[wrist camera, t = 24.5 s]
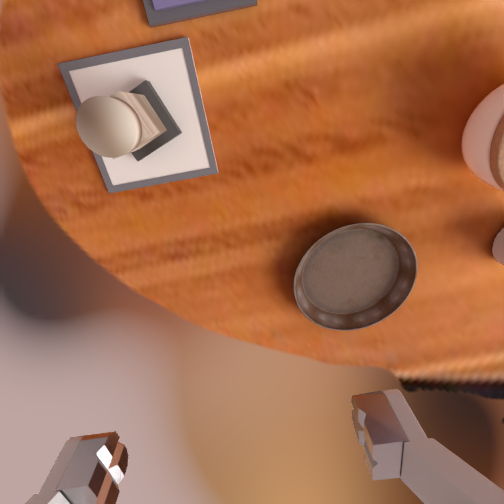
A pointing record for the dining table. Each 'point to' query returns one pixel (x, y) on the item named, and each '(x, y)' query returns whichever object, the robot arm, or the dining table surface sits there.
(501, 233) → the can
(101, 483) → the robot arm
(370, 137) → the dining table surface
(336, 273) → the plant saucer
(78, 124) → the stamp
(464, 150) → the lidded bowl
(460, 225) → the dining table surface
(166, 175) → the marked square
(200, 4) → the ink pad
